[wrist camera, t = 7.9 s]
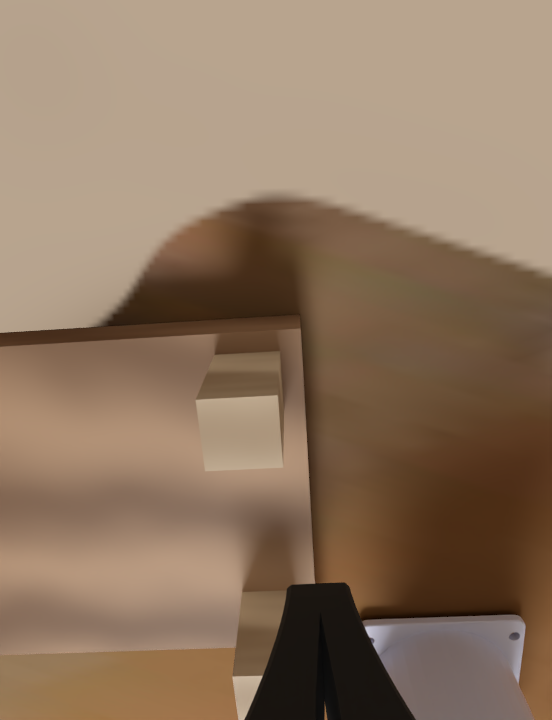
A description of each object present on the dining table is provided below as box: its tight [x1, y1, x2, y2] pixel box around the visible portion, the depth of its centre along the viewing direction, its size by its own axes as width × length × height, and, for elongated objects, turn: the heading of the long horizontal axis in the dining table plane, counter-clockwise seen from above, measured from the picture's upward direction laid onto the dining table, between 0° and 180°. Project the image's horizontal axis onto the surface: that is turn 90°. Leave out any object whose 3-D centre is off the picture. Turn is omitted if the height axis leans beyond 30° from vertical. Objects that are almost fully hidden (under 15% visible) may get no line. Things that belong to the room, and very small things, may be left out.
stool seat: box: [0, 314, 315, 720], centre depth 20 cm, size 15×19×6 cm
